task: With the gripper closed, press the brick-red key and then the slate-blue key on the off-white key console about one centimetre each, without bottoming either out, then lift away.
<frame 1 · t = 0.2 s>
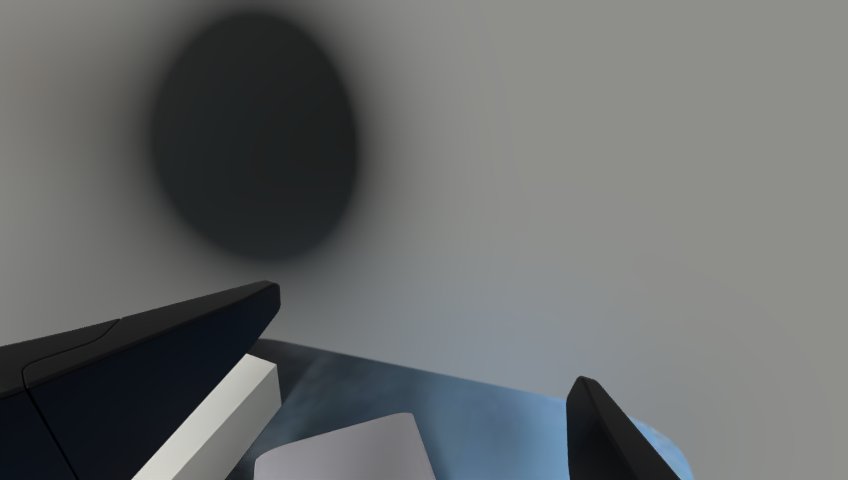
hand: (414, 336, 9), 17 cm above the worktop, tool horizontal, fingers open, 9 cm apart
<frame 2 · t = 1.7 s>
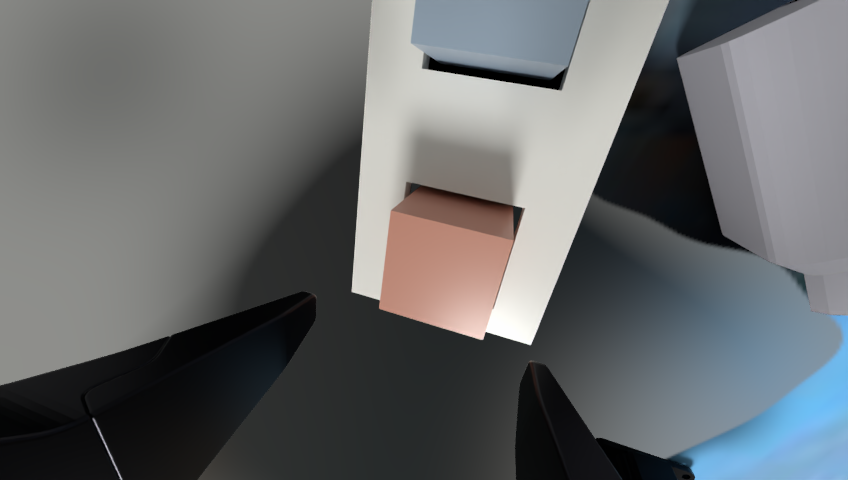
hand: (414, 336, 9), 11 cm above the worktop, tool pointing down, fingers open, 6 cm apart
key console: (483, 134, 17), on the worktop
brick key: (449, 254, 14), point 5 cm above the worktop, slide at 0.0 cm
charger: (827, 167, 14), on the worktop
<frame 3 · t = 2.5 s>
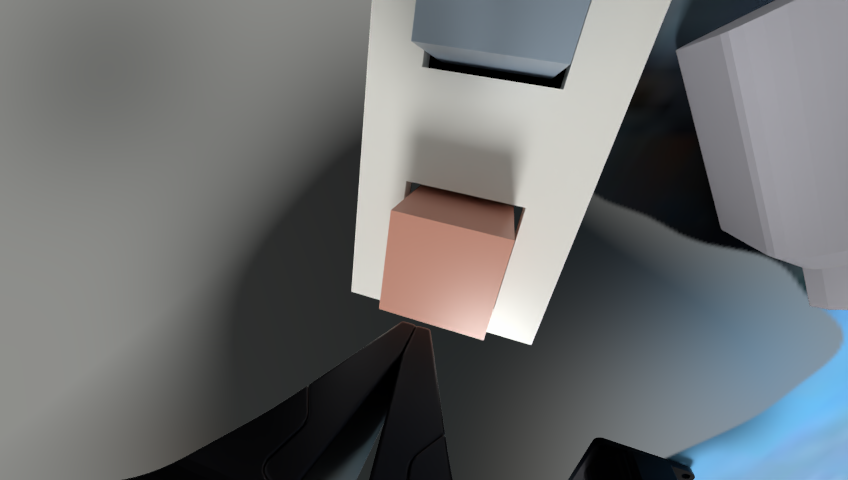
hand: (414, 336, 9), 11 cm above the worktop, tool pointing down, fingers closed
key console: (484, 133, 17), on the worktop
brick key: (449, 254, 14), point 5 cm above the worktop, slide at 0.0 cm
charger: (826, 161, 14), on the worktop
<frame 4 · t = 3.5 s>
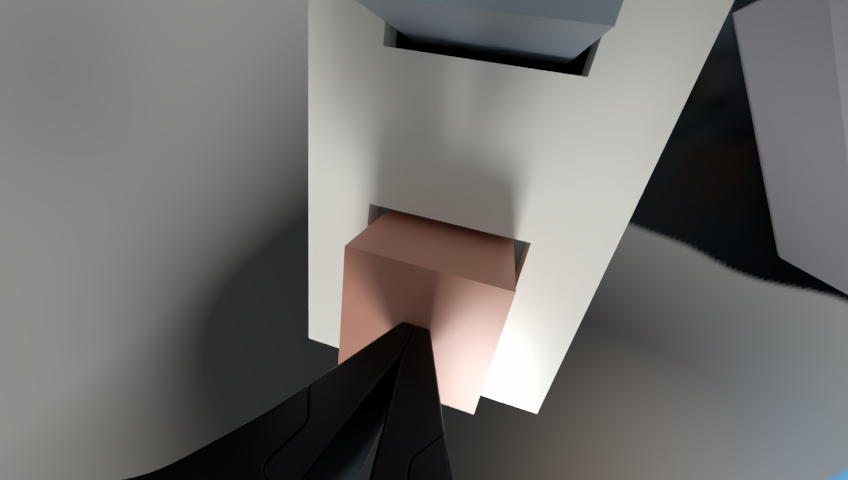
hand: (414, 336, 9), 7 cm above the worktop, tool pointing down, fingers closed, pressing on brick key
key console: (476, 137, 13), on the worktop
brick key: (431, 294, 11), point 5 cm above the worktop, slide at 0.6 cm, touching gripper
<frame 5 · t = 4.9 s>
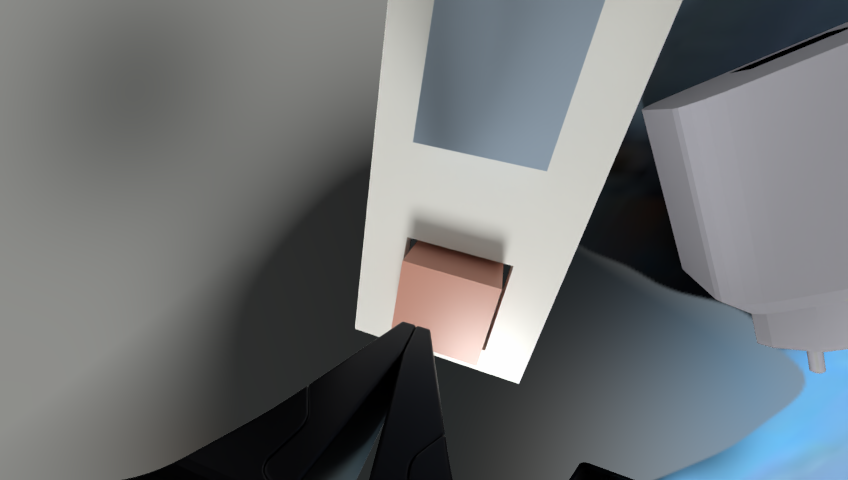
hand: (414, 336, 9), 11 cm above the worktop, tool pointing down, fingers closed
key console: (479, 186, 18), on the worktop
brick key: (449, 291, 17), point 4 cm above the worktop, slide at 1.3 cm
slate key: (498, 86, 11), point 5 cm above the worktop, slide at 0.0 cm
charger: (776, 212, 15), on the worktop
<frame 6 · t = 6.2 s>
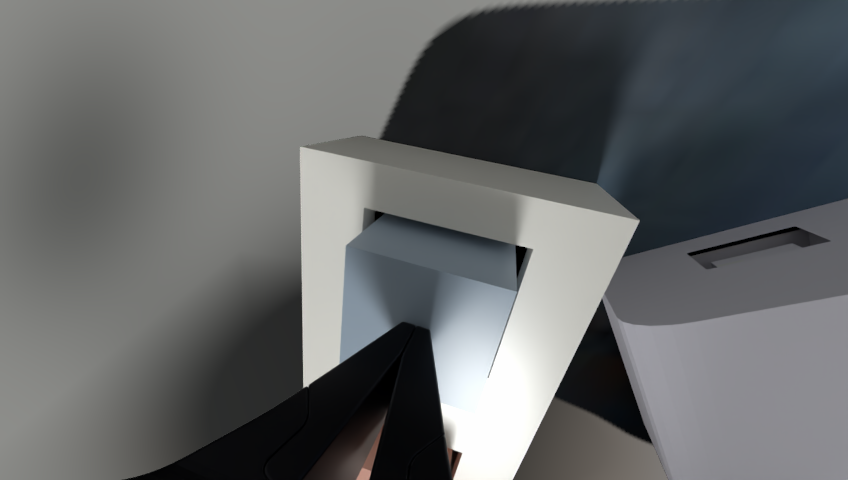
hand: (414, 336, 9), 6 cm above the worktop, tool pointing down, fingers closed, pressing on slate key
key console: (434, 327, 17), on the worktop
brick key: (399, 455, 15), point 4 cm above the worktop, slide at 1.3 cm
slate key: (432, 293, 11), point 4 cm above the worktop, slide at 1.1 cm, touching gripper
charger: (744, 372, 14), on the worktop
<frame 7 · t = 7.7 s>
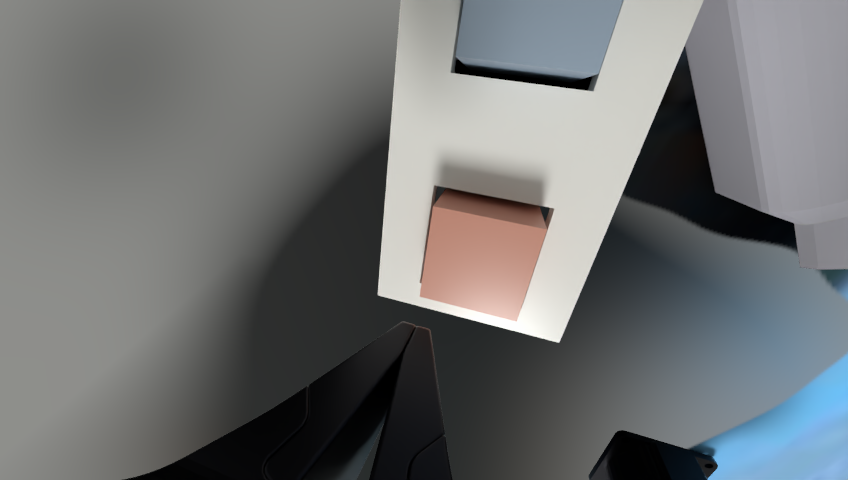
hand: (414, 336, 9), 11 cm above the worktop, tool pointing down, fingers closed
key console: (505, 134, 17), on the worktop
brick key: (480, 245, 15), point 4 cm above the worktop, slide at 1.3 cm
charger: (821, 122, 14), on the worktop
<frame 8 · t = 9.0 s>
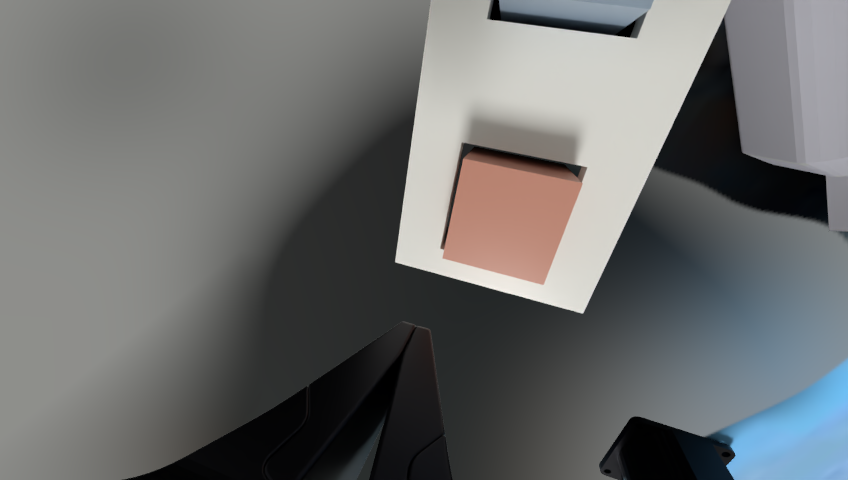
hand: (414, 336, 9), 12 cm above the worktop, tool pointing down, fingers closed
key console: (532, 99, 16), on the worktop
brick key: (505, 209, 15), point 4 cm above the worktop, slide at 1.3 cm
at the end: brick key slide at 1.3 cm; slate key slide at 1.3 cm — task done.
